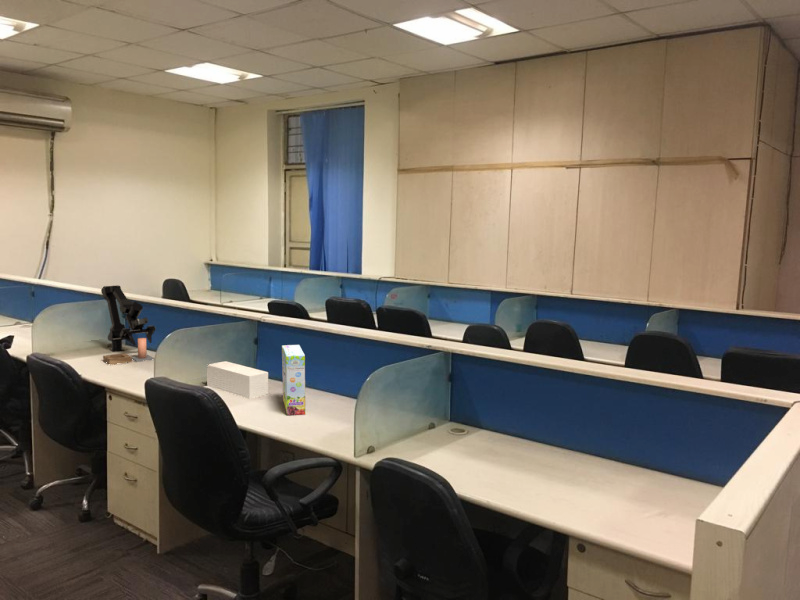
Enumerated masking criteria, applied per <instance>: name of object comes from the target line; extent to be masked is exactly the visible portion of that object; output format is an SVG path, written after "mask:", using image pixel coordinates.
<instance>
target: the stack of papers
mask: <svg viewBox="0 0 800 600" xmlns="http://www.w3.org/2000/svg"><path fill="white" fill-rule="evenodd" d="M207 365H208V364H207ZM207 365H206V373H207V374H206V380H207V381H206V382H207V383H206V386H207V387H209V388H213V389H216V390H218V389H219V390H220V391H222V392H225V391H226V392H225V393H228V392H229V394H231V393H233V394H232V395H235V394H236V395H235V396H238V395H239V396H238V397H241V396H242V397H241V398H244V397H245V399H248V400H251V398H252V399H254V398H255V397H256V398H260V397H263V396H262V395H264V396H267V395H266V394H268V395H269V372H268V371H265V370H261V369H257V368H253V367H249V366H245V365H243V364H238V363H234V362H230V361H220V362H219V361H218V362H214V363H210V364H209V365H208V366H207ZM207 367H208V368H207ZM219 390H218V391H219ZM259 396H260V397H259ZM256 398H255V399H256Z"/></svg>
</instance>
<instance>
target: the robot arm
mask: <svg viewBox="0 0 800 600" xmlns="http://www.w3.org/2000/svg"><path fill="white" fill-rule="evenodd" d="M100 292H101V295H102V298H103V299H104V300H105V301H106V302H107V307H108V308H107V309H108V311H109V312H108V313H109V317H110V318H109V319H110V321H111V322H110V323H111V326H110V328H109V333H108V335H107V340H108V341H109V342H111V348H110V349H109V350H110V351H111V352H121V351H125V349H124V348H123V341H128V342H129V343H130V344H132V345H133V346H136V341H135V339H134V336H133V334H135V335H137V334H144V333H145V335H146V336H145V338H146V340H148V342H149V343H150V344H151V343H152V342H153V341H152V340H153V339H152V335H154V333H155V331H156V329H157V327H156V326H155V325H147V326H146V327H145V326H144V325H146V324H148V323H149V318H148V317H143V318H139V316H140V314H141V313H142V310H143V305H142V304H141V303H138V302H137V301H131V300H130V299H128V298H127V296H126V295H125V293H124V292H123V290H122V288H121V286H120V285H117V284H116V285H103V287H101V291H100ZM117 302H118V303H119V309H118V305H117ZM119 310H120V312H121V314H122V315H125V314H126V315H125V318H124V320H125V321H127V324H128V328H126V326H125V324H123V323H122V322H121V318H120V314H119ZM144 327H145V328H144Z"/></svg>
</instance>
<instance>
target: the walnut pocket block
mask: <svg viewBox="0 0 800 600" xmlns="http://www.w3.org/2000/svg"><path fill="white" fill-rule="evenodd" d="M102 356H103V357H102V359H103V362H104V361H105V362H104V363H106V362H107V363H108V365H109V364H114V365H118V364H117V363H123V364H127V363H126V362H131V363H132V362H133V360H132V357H133V356H130V355H128V353H126V352H125V353H116V354H108V355H102ZM107 363H106V364H107Z"/></svg>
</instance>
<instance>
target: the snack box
mask: <svg viewBox="0 0 800 600" xmlns="http://www.w3.org/2000/svg"><path fill="white" fill-rule="evenodd" d="M281 359H282V360H281V362H282V364H281V365H282V369H281V371H282V372H281V373H282V401H283V405H284V409H285V412H286V413H285V414H286V416H303V415H304V416H305V415H306V355H305V353H304V351H303V349H302V347H301V345H300V344H287V345H286V344H285V345H281Z"/></svg>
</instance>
